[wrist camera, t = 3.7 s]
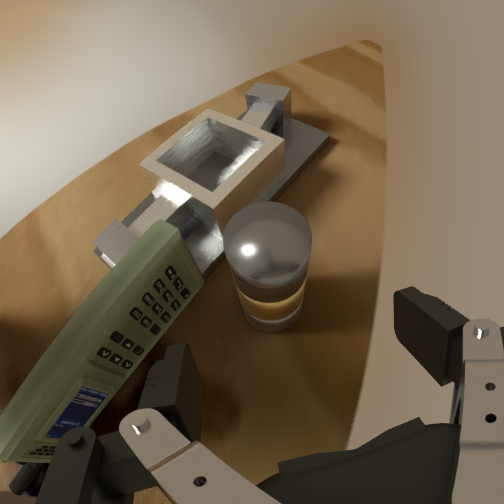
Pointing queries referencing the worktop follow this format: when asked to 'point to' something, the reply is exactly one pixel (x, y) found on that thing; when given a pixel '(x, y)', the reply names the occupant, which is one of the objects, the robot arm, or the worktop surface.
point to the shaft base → (217, 174)
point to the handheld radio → (99, 348)
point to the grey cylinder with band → (269, 263)
